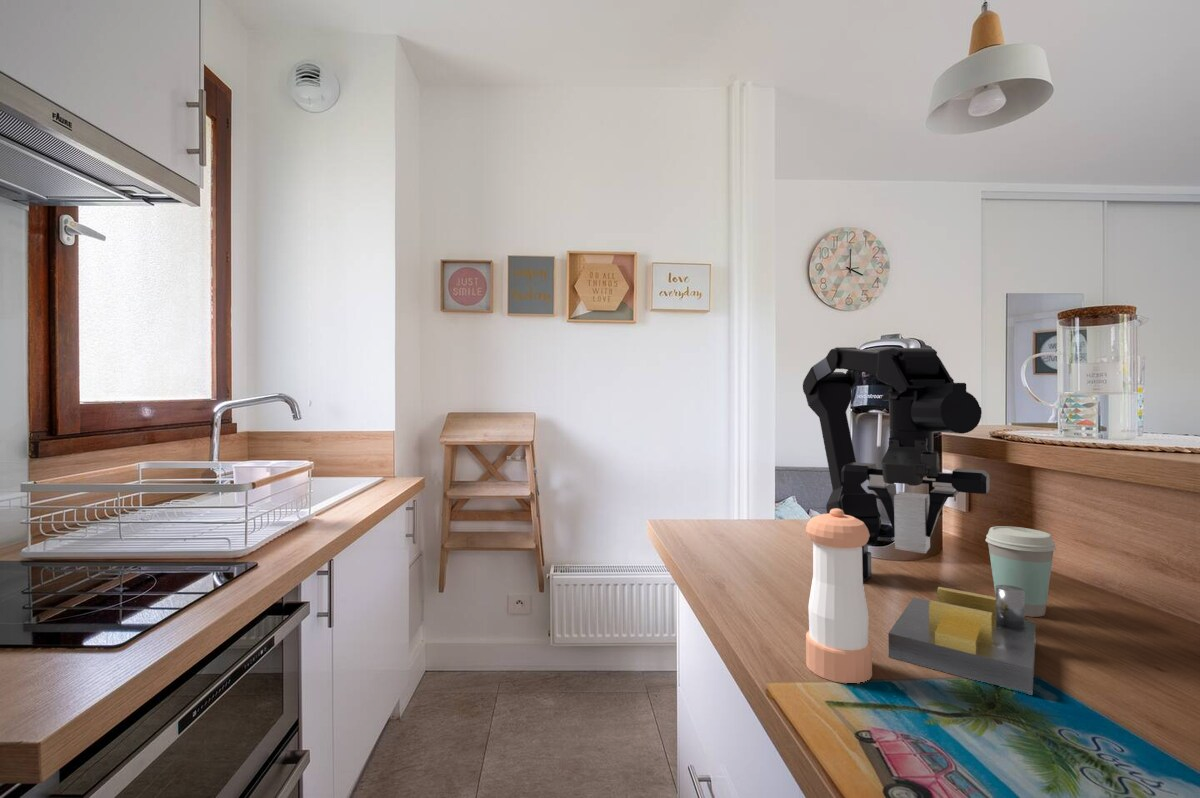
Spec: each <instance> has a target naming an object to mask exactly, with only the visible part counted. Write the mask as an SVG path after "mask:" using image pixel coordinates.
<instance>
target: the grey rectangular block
mask: <svg viewBox="0 0 1200 798" xmlns="http://www.w3.org/2000/svg"><path fill="white" fill-rule="evenodd" d="M896 493H897V494H896V495H894V526H895V532H894V549H895V550H901V551H907V552H912V553H918V554H927V552H928V551H929V550H930V548H931V537H928V536H927V520H928V512H929V503H930V496H929V494H927V493H917V492H907V491H905V492H904V491H897V492H896Z"/></svg>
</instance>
